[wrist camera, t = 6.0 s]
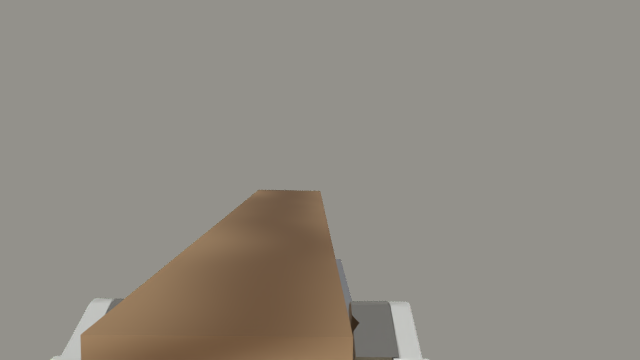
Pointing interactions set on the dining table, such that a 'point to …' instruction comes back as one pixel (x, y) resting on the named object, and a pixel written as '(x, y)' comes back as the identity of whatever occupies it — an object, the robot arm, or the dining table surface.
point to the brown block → (238, 293)
